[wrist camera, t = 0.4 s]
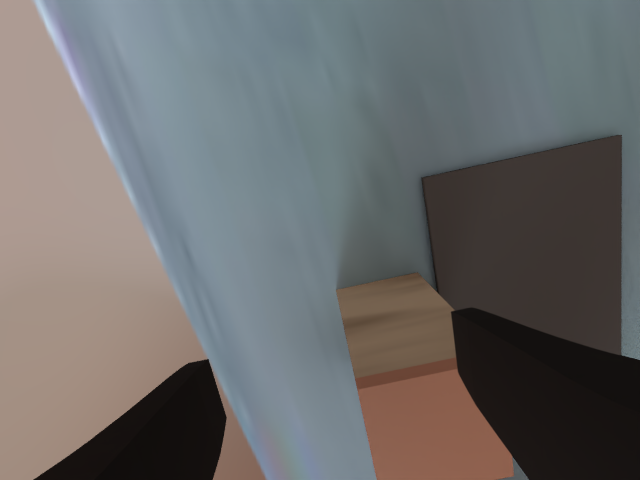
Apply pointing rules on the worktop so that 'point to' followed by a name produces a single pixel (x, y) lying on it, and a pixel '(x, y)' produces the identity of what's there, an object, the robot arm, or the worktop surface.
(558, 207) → the rubber mat
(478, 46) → the worktop surface
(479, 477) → the maple block
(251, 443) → the worktop surface
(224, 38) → the worktop surface
